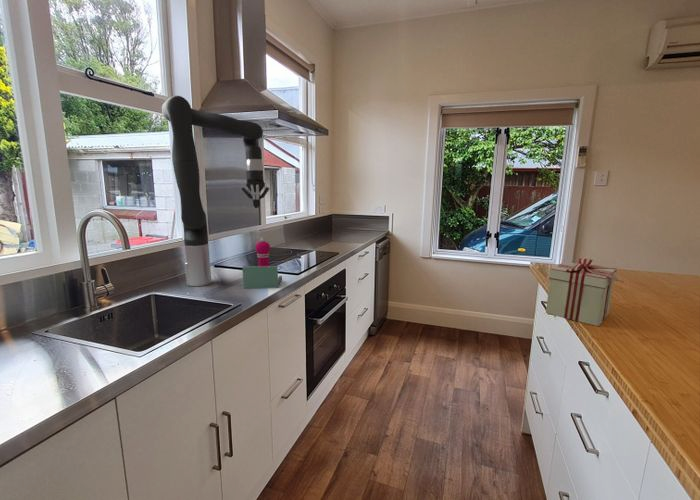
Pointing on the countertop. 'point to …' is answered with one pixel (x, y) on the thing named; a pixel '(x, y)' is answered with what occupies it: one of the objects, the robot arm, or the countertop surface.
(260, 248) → the pepper mill
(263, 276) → the green rectangular block
